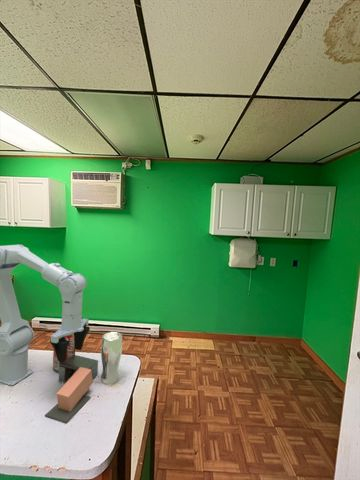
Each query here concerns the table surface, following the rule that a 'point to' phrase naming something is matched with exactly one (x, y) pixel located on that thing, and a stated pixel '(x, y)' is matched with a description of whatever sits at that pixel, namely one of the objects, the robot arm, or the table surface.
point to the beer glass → (111, 356)
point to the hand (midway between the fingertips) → (70, 354)
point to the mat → (64, 414)
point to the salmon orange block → (74, 389)
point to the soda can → (69, 352)
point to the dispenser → (76, 367)
